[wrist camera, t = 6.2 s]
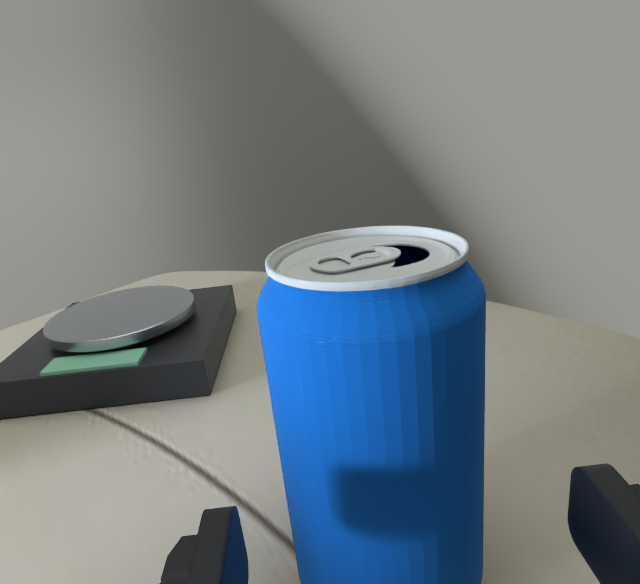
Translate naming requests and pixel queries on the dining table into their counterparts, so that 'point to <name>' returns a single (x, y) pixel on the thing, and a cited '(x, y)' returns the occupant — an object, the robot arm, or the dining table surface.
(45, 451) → the dining table surface
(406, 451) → the beverage can
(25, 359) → the scale
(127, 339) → the scale pan
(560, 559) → the dining table surface
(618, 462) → the dining table surface
